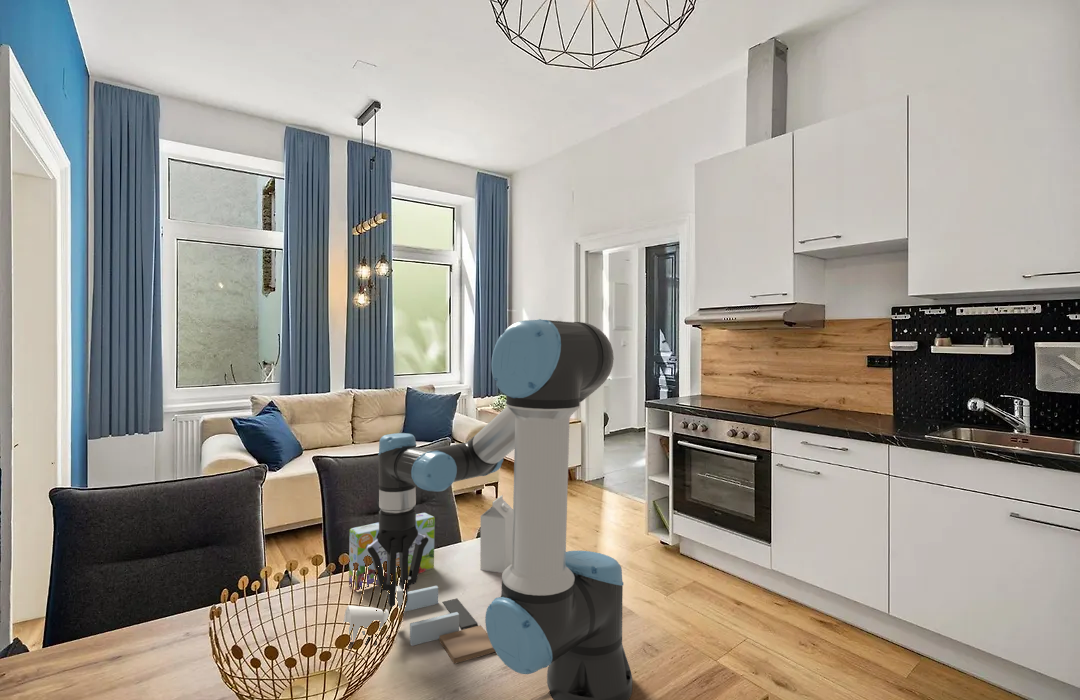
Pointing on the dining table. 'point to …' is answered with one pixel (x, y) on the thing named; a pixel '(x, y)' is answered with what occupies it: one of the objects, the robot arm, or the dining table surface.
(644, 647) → the dining table surface
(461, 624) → the mat
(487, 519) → the milk carton
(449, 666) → the dining table surface
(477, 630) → the trivet
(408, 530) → the robot arm
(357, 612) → the cup
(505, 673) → the dining table surface
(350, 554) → the snack box
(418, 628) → the channel
